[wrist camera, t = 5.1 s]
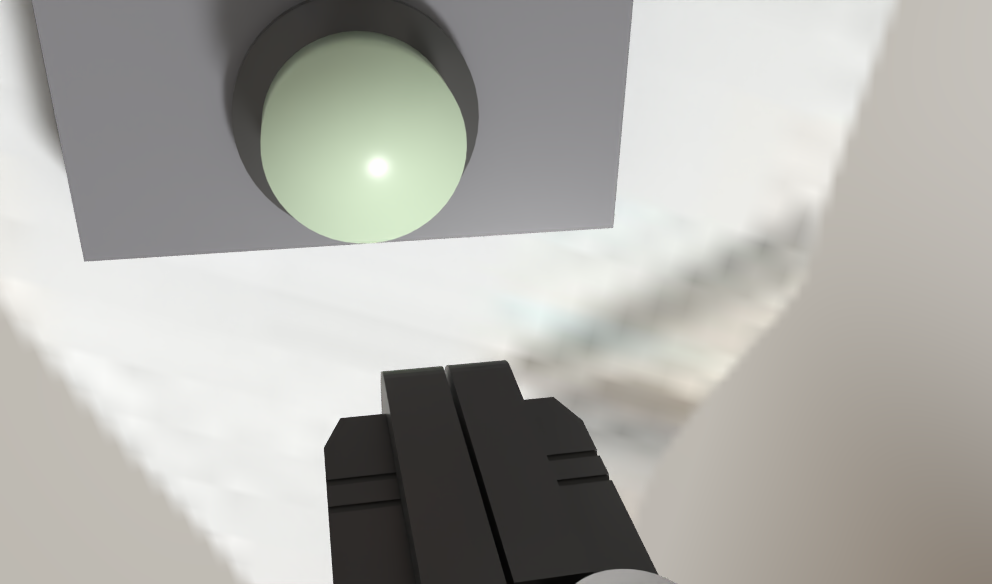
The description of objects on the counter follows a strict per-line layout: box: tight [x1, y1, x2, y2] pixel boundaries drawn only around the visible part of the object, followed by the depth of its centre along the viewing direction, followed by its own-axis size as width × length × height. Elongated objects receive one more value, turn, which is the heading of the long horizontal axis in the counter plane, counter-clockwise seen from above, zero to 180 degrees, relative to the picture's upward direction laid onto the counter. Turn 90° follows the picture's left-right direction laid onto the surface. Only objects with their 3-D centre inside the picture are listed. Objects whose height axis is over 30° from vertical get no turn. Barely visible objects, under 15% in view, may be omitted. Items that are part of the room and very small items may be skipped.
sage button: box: [260, 31, 467, 243], centre depth 21 cm, size 5×5×2 cm
